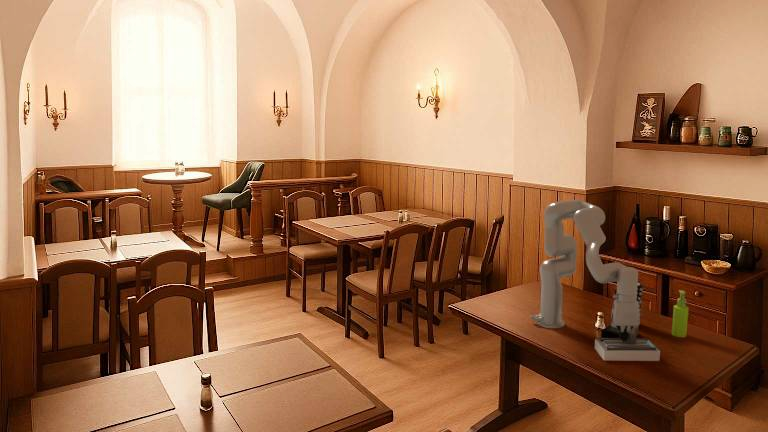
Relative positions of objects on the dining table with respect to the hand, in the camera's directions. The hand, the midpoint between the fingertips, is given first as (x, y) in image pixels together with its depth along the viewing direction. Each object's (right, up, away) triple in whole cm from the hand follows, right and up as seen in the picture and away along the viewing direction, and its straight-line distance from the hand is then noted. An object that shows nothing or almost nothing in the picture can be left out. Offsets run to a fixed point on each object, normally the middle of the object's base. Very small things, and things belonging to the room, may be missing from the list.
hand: (623, 340), depth 238 cm
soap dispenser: (+34, -2, +21) cm, 40 cm away
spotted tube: (+17, 0, +34) cm, 38 cm away
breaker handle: (+3, -2, 0) cm, 4 cm away
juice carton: (+6, -3, +19) cm, 20 cm away
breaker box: (+2, -6, +1) cm, 6 cm away
